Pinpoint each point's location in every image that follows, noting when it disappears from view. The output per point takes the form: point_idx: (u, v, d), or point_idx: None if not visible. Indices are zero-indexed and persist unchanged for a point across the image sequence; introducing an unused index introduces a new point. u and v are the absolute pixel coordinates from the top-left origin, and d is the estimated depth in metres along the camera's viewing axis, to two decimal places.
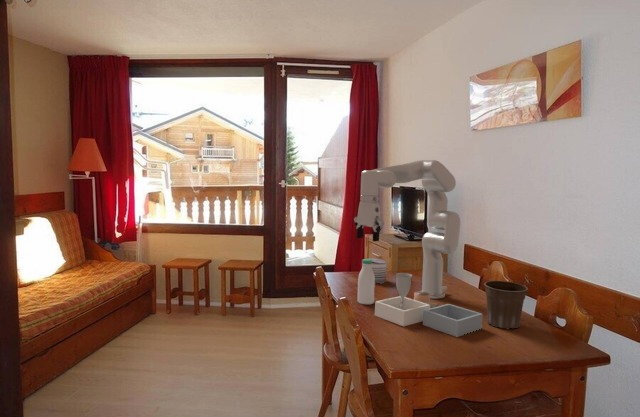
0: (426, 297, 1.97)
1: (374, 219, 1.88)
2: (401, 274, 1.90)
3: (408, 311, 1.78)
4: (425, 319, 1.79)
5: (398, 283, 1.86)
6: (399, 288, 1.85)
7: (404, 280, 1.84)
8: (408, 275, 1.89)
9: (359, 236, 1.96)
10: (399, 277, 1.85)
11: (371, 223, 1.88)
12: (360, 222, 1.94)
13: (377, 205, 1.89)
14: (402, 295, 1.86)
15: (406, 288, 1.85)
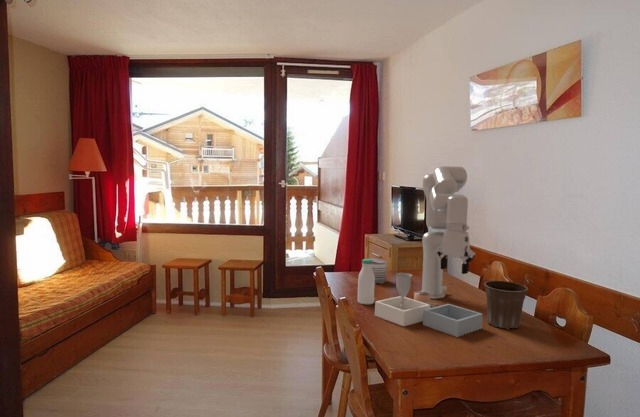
0: (426, 297, 1.97)
1: (464, 250, 1.71)
2: (401, 274, 1.90)
3: (408, 311, 1.78)
4: (425, 319, 1.79)
5: (398, 283, 1.86)
6: (399, 288, 1.85)
7: (404, 280, 1.84)
8: (408, 275, 1.89)
9: (443, 267, 1.80)
10: (399, 277, 1.85)
11: (460, 254, 1.72)
12: (445, 252, 1.77)
13: (466, 234, 1.72)
14: (402, 295, 1.86)
15: (406, 288, 1.85)
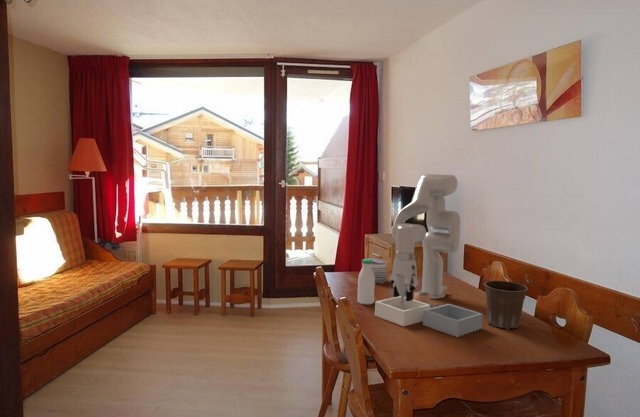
0: (426, 297, 1.97)
1: (410, 277, 1.82)
2: None
3: (408, 311, 1.78)
4: (425, 319, 1.79)
5: (398, 283, 1.86)
6: (399, 288, 1.85)
7: None
8: None
9: (396, 295, 1.90)
10: (399, 277, 1.85)
11: (407, 281, 1.83)
12: (395, 278, 1.88)
13: (413, 262, 1.83)
14: (402, 295, 1.86)
15: (406, 288, 1.85)
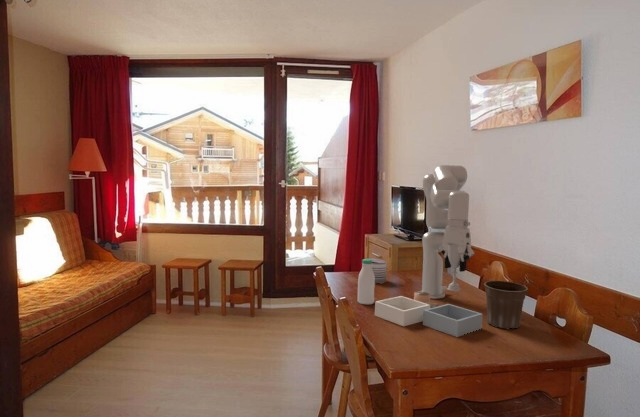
0: (426, 297, 1.97)
1: (465, 246, 1.71)
2: None
3: (408, 311, 1.78)
4: (425, 319, 1.79)
5: (450, 253, 1.74)
6: (452, 258, 1.74)
7: (457, 249, 1.73)
8: None
9: (447, 266, 1.78)
10: (452, 246, 1.73)
11: (461, 250, 1.71)
12: (447, 248, 1.77)
13: (468, 230, 1.72)
14: (455, 265, 1.75)
15: (460, 258, 1.73)
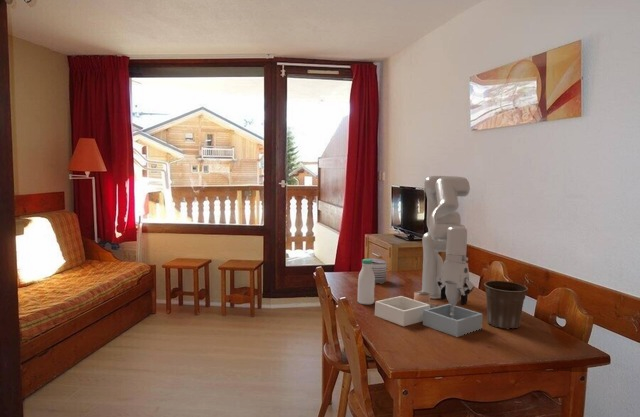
0: (426, 297, 1.97)
1: (463, 281, 1.72)
2: None
3: (408, 311, 1.78)
4: (425, 319, 1.79)
5: (448, 291, 1.76)
6: (449, 296, 1.75)
7: (454, 288, 1.74)
8: None
9: (443, 297, 1.80)
10: (449, 284, 1.75)
11: (460, 285, 1.72)
12: None
13: (466, 265, 1.73)
14: (452, 303, 1.76)
15: (457, 296, 1.75)
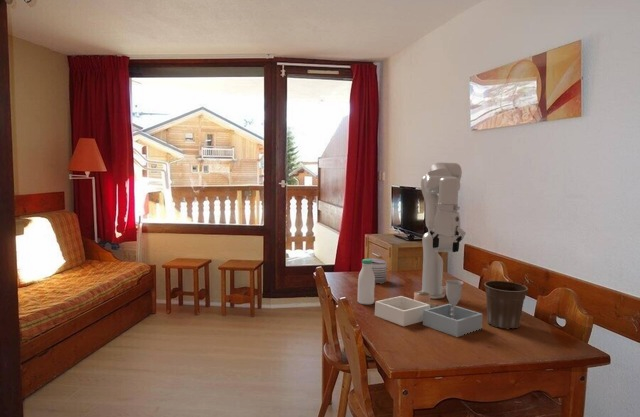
0: (426, 297, 1.97)
1: (454, 229, 1.79)
2: (450, 281, 1.80)
3: (408, 311, 1.78)
4: (425, 319, 1.79)
5: (449, 291, 1.76)
6: (450, 296, 1.75)
7: (455, 288, 1.74)
8: (458, 282, 1.79)
9: (435, 246, 1.88)
10: (450, 284, 1.75)
11: (451, 233, 1.80)
12: (437, 231, 1.85)
13: (457, 214, 1.80)
14: (453, 303, 1.76)
15: (458, 296, 1.75)
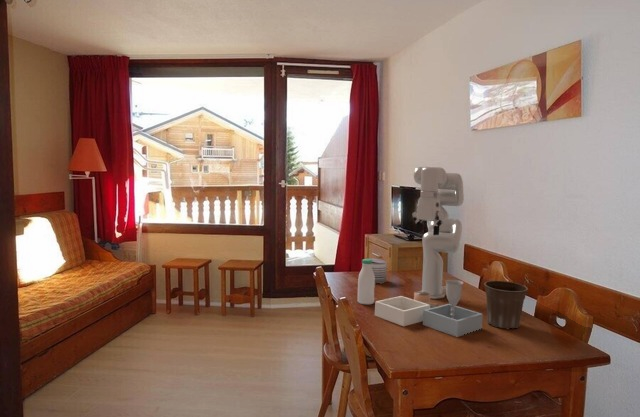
0: (426, 297, 1.97)
1: (435, 214, 1.96)
2: (450, 281, 1.80)
3: (408, 311, 1.78)
4: (425, 319, 1.79)
5: (449, 291, 1.76)
6: (450, 296, 1.75)
7: (455, 288, 1.74)
8: (458, 282, 1.79)
9: (418, 230, 2.05)
10: (450, 284, 1.75)
11: (432, 218, 1.97)
12: (420, 217, 2.02)
13: (437, 200, 1.97)
14: (453, 303, 1.76)
15: (458, 296, 1.75)
